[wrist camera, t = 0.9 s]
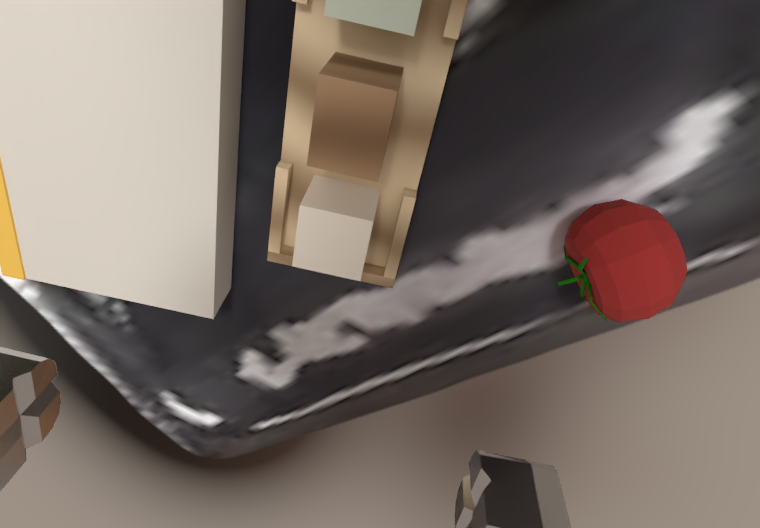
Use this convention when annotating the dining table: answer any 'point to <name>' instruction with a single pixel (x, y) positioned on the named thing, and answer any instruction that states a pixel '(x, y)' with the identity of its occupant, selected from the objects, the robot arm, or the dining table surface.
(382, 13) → the block
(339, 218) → the block
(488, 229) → the dining table surface
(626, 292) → the tomato
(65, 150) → the dock
